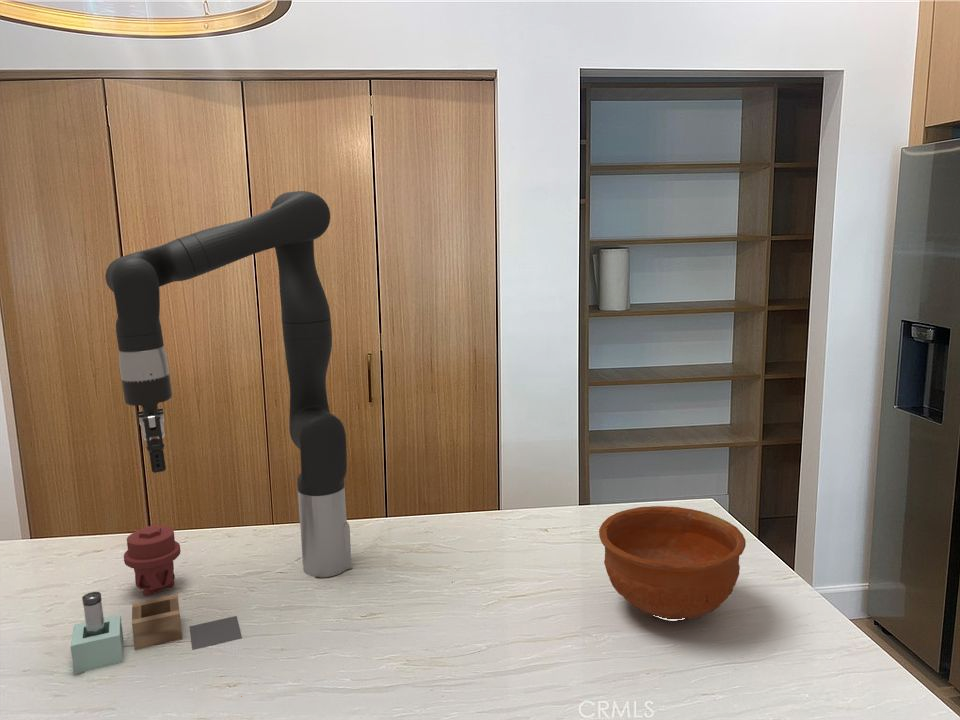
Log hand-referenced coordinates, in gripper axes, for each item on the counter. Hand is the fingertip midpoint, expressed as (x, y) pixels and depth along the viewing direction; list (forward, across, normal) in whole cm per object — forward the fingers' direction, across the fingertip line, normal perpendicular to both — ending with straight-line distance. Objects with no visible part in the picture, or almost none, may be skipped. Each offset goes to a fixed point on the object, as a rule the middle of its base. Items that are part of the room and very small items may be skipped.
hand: (158, 464), depth 130 cm
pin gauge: (+28, -9, +13) cm, 32 cm away
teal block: (+28, -10, +13) cm, 32 cm away
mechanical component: (+29, +11, +4) cm, 31 cm away
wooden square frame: (+28, -7, +4) cm, 30 cm away
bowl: (+31, -40, -80) cm, 94 cm away
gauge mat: (+29, -11, -5) cm, 31 cm away
